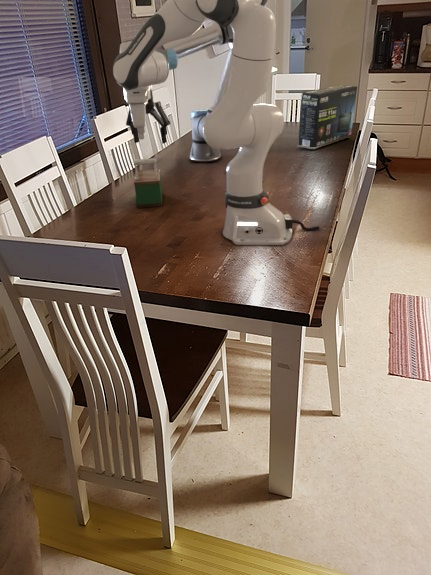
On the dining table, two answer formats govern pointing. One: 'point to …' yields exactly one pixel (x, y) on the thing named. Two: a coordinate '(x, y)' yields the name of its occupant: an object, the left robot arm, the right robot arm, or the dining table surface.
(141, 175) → the lid
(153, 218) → the dining table surface
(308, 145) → the router box
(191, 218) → the dining table surface
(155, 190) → the green box
